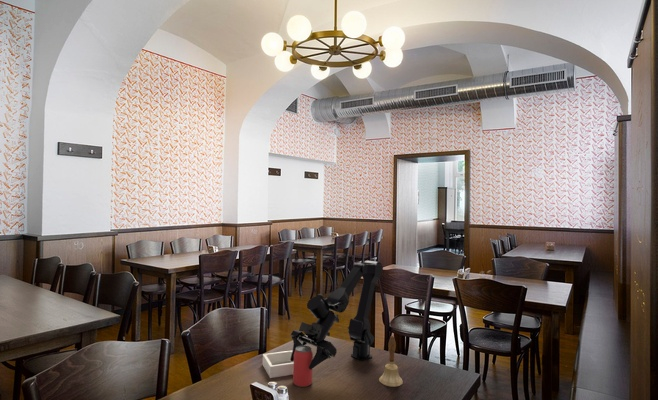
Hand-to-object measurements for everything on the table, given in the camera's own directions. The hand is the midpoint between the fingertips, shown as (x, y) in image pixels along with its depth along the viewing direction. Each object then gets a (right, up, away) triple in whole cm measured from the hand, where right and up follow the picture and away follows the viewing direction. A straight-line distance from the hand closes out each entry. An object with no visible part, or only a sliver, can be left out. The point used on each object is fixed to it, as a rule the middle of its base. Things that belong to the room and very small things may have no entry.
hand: (300, 364), depth 131 cm
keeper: (-8, -7, +12) cm, 16 cm away
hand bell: (+32, -8, +4) cm, 33 cm away
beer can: (+1, -7, +1) cm, 7 cm away
